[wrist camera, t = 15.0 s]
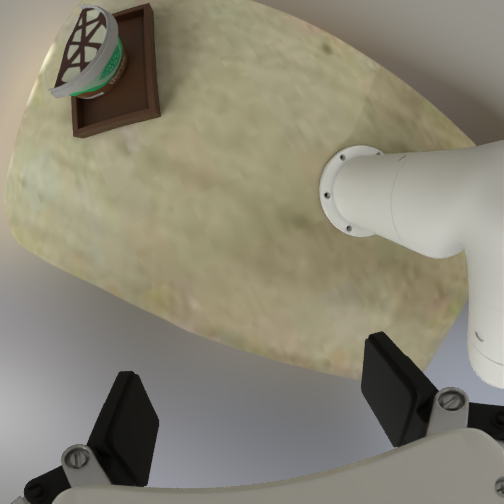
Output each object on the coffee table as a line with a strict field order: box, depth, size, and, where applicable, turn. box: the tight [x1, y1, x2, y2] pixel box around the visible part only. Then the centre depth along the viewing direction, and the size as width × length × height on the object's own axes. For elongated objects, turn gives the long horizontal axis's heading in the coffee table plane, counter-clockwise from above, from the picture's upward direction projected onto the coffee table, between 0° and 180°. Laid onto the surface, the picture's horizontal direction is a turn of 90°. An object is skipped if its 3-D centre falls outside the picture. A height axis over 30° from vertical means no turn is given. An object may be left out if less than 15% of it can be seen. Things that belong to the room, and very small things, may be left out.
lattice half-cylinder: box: [49, 4, 129, 100], centre depth 25 cm, size 12×6×10 cm, turn 170°
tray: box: [71, 3, 161, 138], centre depth 29 cm, size 12×18×3 cm, turn 8°
